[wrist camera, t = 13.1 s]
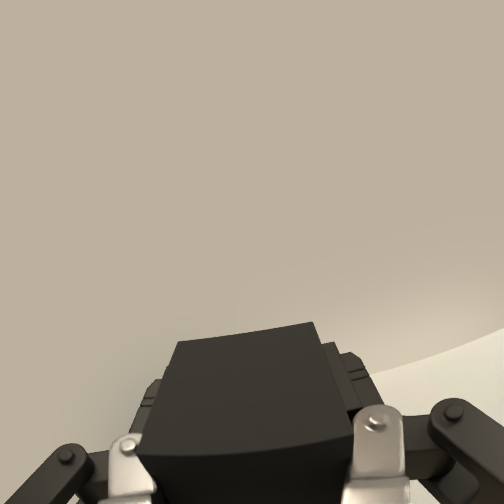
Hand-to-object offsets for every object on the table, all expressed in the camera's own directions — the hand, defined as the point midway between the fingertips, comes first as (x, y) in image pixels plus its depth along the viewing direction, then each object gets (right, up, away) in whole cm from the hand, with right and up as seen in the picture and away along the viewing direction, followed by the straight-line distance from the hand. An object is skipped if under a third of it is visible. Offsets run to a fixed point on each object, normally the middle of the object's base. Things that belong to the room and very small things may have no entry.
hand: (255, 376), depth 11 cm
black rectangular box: (+1, -7, -1) cm, 7 cm away
